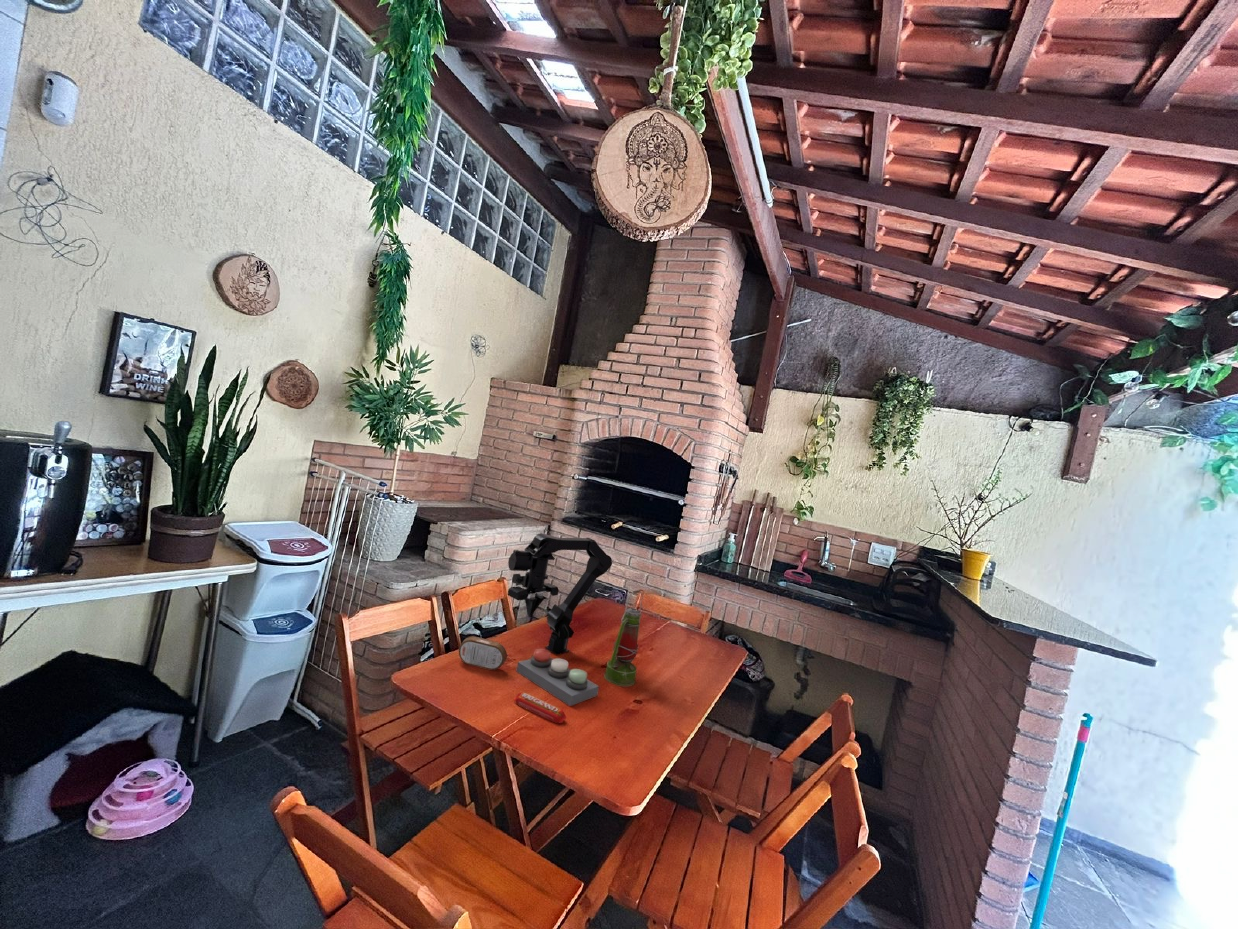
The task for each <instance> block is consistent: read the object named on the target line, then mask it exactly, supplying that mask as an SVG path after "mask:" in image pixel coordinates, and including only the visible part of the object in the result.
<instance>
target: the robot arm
mask: <svg viewBox="0 0 1238 929" xmlns="http://www.w3.org/2000/svg"><path fill="white" fill-rule="evenodd" d="M560 551H585V552H586V554H587V556H588V560H587V562H586V563H587V564H586V567H585V568H586V569H585V570H584V572H583V574H582V575H581V577H580V578H579V579H578V580H577V582H576V583H575V585H574V586H573V588H572V589H571V591H569V593H568V595H567V596H566V598H565V599H564V600H563V602H562V603H560V604H558V605H557V604H553V606H552V607H551V609H550V611H548V612H547V617H546V623H547V625H548V626H549V629H550V630H551V631H552V632H551V633H550V637H549V640H548V644H547V645H546V646H544V649H546V650H548V651H550V652H551V653H552V654H555V655H559V656H560V655H563V654H566V653H569V652H570V649H568V644H569V639H570V638H572V637H573V635H574V634H575V632H574V630H573V628H572V627H571V626H570V625H571V623H572V621H573V616H574V611H575V610H576V608H577V607H578V606H579V604H580V603H581V601H582V600H583V599H584V597H585V596H586V595H587V593H588V591H589V590H590V588H592V586H593V584H594V583H595V582H596V579H598V578H600V577H601V576H603V575H605V574H606V572H608V570H610V568H611V567H612V565H613V559H612V557H611V556H610V555H609V554H607V553H606V552H605V551H604V550H603V548H601V546H600V545H599V544H598V542H597V541H596V540H595V539H593V538H591V537H583V538H582V537H559V536H558V537H557V536H553V535H550V534H546V533H537V534H536V535H535V536H534V537H533V539H532V541H531V542H530V543H529V544H528V545H526V547H525V548H524V550H520V549H513V551H512V553H511V554H510V556H509V558H508V563H507V564H508V569H509V570H510V571H513V572H514V571H516V572H525V575H521V573H513V574H512V576H511V577H512V578H511V580H512V582H511V583H512V584H515V586H511V587H509V588H508V591H507V596H508V597H511V598H512V599H514V600H517V601H524V603H525V608H526V614H527V616H528V617H531V616H532V615H533V614H534V613H535V611H537V608H538V607H539V606H540V605H541V604H542V602H543V601H544V600H546V599H547V597H546V596H544V594H545V593H550V596H551V597H554V596H559V591H560V590H559V587H558V586H556V585H554V584H553V583H550V582H546V583H545V580H548V579H549V575H547V571H548V565H549V561H555V559H556V557H555V556H554V555H553V554H555V553H557V552H560ZM521 586H522V587H521Z"/></svg>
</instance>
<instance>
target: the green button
mask: <svg viewBox="0 0 1238 929" xmlns="http://www.w3.org/2000/svg"><path fill="white" fill-rule="evenodd" d="M570 670H571V671H570V675H569V680H570V681H572V682H574V683H578V684H582V683H585V682H586V679H588V678H587V677H588V672H587V671H585V670H583V669H579V668H572V669H570Z"/></svg>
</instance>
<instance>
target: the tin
mask: <svg viewBox="0 0 1238 929" xmlns="http://www.w3.org/2000/svg"><path fill="white" fill-rule="evenodd" d="M458 656H459V658H460V660H461V661H462V662H463V663H465V665H470V666H473V667H477V668H481V669H484V668H485V669H486V670H489V671H496V670H498V669H500V668H501V667H502V666H504V664H505V662H506V661H507V658H508V652H507V649H506V648H505V646H504V645H503V644H501V643H500V642H498V641H494V640H491V639H490V640H489V639H486V638H482V637H478V636H468V637H466V638H465V639H464V640H463V641H462V642H461V644H459V647H458Z"/></svg>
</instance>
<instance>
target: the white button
mask: <svg viewBox="0 0 1238 929" xmlns="http://www.w3.org/2000/svg"><path fill="white" fill-rule="evenodd" d="M552 659H553V660H552V663H551V669H552V670H553V671H556V672H566V671H567V668H568V667H569V662H568V660H566V659H564V658H552Z"/></svg>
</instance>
